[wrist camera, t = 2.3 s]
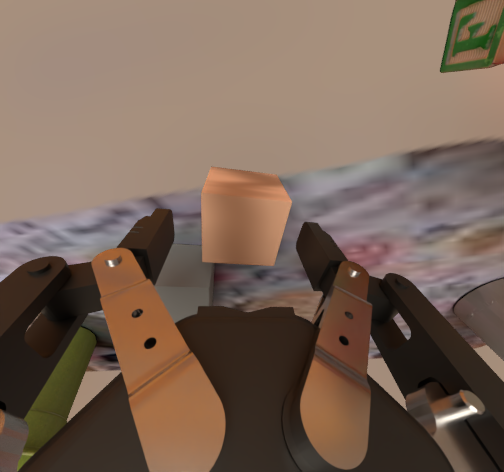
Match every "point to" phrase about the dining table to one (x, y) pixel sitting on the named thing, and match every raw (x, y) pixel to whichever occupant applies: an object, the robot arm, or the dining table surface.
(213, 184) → the terracotta cube
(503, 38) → the stack of blocks
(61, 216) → the dining table surface
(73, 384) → the plant pot
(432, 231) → the dining table surface
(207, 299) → the grey base block
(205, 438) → the robot arm
